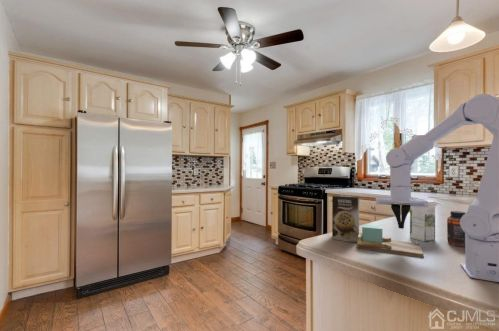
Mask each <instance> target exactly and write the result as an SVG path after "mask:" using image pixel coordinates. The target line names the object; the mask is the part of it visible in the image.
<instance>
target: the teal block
mask: <svg viewBox="0 0 499 331" xmlns="http://www.w3.org/2000/svg"><path fill="white" fill-rule="evenodd" d="M361 229H362V230H361V231H362V241H369V242H377V243H382V237H383V225H373V224H372V225H371V224H362V226H361Z"/></svg>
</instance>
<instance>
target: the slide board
mask: <svg viewBox="0 0 499 331" xmlns="http://www.w3.org/2000/svg"><path fill="white" fill-rule="evenodd" d="M357 249H360V250H368V251H374V252H381V253H389V254H395V255H403V256H409V257H418V258H423V259H424V257H425V256H424V251H423V249H422V247H421V244H420V243H418V242H410V241H400V240H394V239H392V237H383V236H382V243H377V242H369V241H362V230H359V235H358V242H357Z"/></svg>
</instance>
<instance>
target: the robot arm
mask: <svg viewBox="0 0 499 331" xmlns="http://www.w3.org/2000/svg"><path fill="white" fill-rule="evenodd" d="M479 124H480V125H482V126H483V127H484V128H485V129H486V130H487V131H488V132H489V133H491V134H492V135H493V138H492V140H491V144H490V148H489V152H488V155H487V158H486V162H485V164H484V168H483V172H482V175H481V176H482V177H481V180H480V184H479V186H478V190H477V193H476V197H475V198H474V200H473V201H472V202H471V204H469V206H468V209H467V211H465V214H464V215H463V216H462V217H461V219H460V226H461V228H462V230H463V231H464V232H465V248H464V249H465V251H464V253H465V259H464V260H465V263H464V262H463V263H462V262H460V266H461V267H462V268H463V270H464V272H466V274H467V275H468V277H469V278H470V279H471V278H472V279H477V280H484V281H489V282H495V283H496V282H497V283H499V97H497V96H493V95H492V94H489V93H488V94H487V93H480V94H476V95H474V96H472V97H471V98H469V99H468V100H467V101H465V102H463V103H462V104H460V105H459V106H458V107H457V108H456V109H455V110H454V111H453V112H452V113H451V114H449V115H447V117H445V118H444V119H443V120H442V121H440V122H439V123H437V125H435V126H434V127H433V128H431V129H430V130H428V132H426V133H418V134H413V135H411V139H409V140H407V142H405V143H404V144H400V145H399V146H398V148H391V149H390V150H389V151H388V152H387V154H386V155H385V161H386V164H388V166H389V174H390V178H389V179H390V184H389V185H390V189H389V190H390V198H381V197H379V198H378V197H376V198H375V205H384V206H385V205H386V206H388V205H389V206H391V207H390V209H391V210H392V212H393V214H394V217H395V218H396V222H397V226H398V229H401V230H403V229H405V223H406V219H407V216H408V214H409V213H410V206H416V207H427V208H428V201H424V200H419V199H412V185H411V184H412V182H411V180H412V179H411V170H412V166H413V164H414V163H415V160H418V158H420V157H422V156H423V155H424V154H427V153H428V152H429V151H431V150H433V149H434V145H435V142H437V141H438V140H440V139H442V138H444V137H447V136H448V135H449V134H451V133H452V132H454V131H456V130H458V129H459V128H462V127H463V126H471V125H479Z"/></svg>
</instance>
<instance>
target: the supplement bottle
mask: <svg viewBox="0 0 499 331" xmlns="http://www.w3.org/2000/svg"><path fill="white" fill-rule="evenodd" d="M465 213H466V211H462V210H461V211H460V210H451V211H450V216H449V217H447V220H446V223H447V224H446V226H447V227H446V229H447V230H446V232H447V236H446V237H447V238H446V239H447V243H448V244H449V245H452V246H456V247H462V248H463V247H465V232H464V231H463V230H462V228H461V226H460V219H461V217H462V216H463V215H464V214H465Z"/></svg>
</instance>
